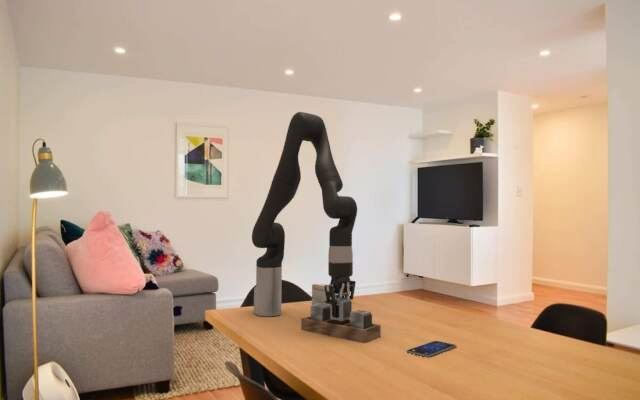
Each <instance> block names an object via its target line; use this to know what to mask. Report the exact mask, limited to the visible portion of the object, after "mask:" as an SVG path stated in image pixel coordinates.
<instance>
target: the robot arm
mask: <svg viewBox="0 0 640 400" xmlns="http://www.w3.org/2000/svg"><path fill="white" fill-rule="evenodd" d="M303 141H305V142H310V143H311V145H313V148H314V150H315V153H316V155H315V156H316V158H315V164H314V173H315V177H316V179H317V181H318V184H319V186H320V189H321V197H322V205H323V206H322V207H323V210H324V213H325V214H326V216H327V217H329V218H330V219H333V220H337V219H339V220H338V223H337V225H336V226H333V227H331V228H330V229H329V232H328V233H329V234H328V235H329V240H328V242H329V243H328V245H329V246H328V247H329V248H328V260H327V261H328V268H327V269H328V276H329V277H330V278H331V279H330V283H329V284H326V285H325V286H324V288H325V294H326V299H327V303H328V304H331V305H332V317H334V318H338V317H339V301H340V298H347V299H351V301H352V300H354V295H355V288H356V280H351V278H350V277H352V276H353V273H354V272H353V270H354V268H353V265H354V263H353V261H354V260H353V259H354V256H353V255H354V254H353V253H354V252H353V230H354V227H355V223H356V220H357V215H358V205H357V202H356V200H355V199H354V198H353V197H351V196H343V195H339V194H338V193H339V192H340V191H342V189H343V187H344V184H343V180H342V178H341V175H340V174H339V171H338V169H337V167H336V166H337V165H336V164H335V161H334V157H333V153H332V150H331V146H330V145H331V144H330V140H329V136H328V132H327V127H326V124H325V122H324V119H323V118H322V117H320V116H319V115H316V114H312V113H308V112H305V111H298V112H297V111H296V113H294V115H293V116H292V117H291V119H290V121H289V125H288V128H287V132H286V136H285V140H284V143H283V144H284V145H283V148H282V151H281V155H280V158H279V161H278V165H277V167H276V170H275V172H274V175H273V177H272V180H271V184H270V187H269V191H268V192H267V196H266V198H265V201H264V204H263V206H262V209H261V211H260V213H259V215H258V217H257V219H256V221H255V224H254V226H253V228H252V232H251V242H252V244H253V246H254V247H255V248H258V249H266V251H265V253H264V254H263V255H261V256H259V257H258V258H257V259H256V262H255V263H256V265H255V267H256V269H255V270H256V271H255V273H256V274H255V275H256V278H255V281H256V282H255V287H253V314H255V315H257V316H260V317H276V316H280V315H281V314H282V289H283V288H282V287H283V286H282V284H283V283H282V279H283V277H282V276H283V275H282V273H283V272H282V271H283V269H282V267H283V260H284V257H285V243H286V241H285V240H286V233H285V229H284V226H283V225H282V224H281V223H280V222H275V221H276V219H277V217H278V215H280V213H281V212H282V211H283V210H284V209H285V208H286V206H288V205H289V204H290V203H291V201H292V200H293V199H294V197H295V196H296V193H297V191H298V189H299V186H300V183H301V179H302V177H301V174H302V173H301V167H300V164H299V154H300V150H301V146H302V143H303ZM334 293H335V294H337V295H335V294H334ZM330 297H331V300H330ZM335 297H337V299H336V300H335Z"/></svg>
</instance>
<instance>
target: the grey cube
mask: <svg viewBox="0 0 640 400" xmlns="http://www.w3.org/2000/svg"><path fill="white" fill-rule="evenodd" d="M336 299H337V298H335V300H336ZM352 302H353V301H352V300H351V299H347V298H340V301H339V317H338V318H334V317H332V305H331V304H330V319H334V320H339V321H344V320H347V319H350V312H352V311H353V310H352V309H353V308H352V305H353V303H352Z"/></svg>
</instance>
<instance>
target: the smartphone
mask: <svg viewBox="0 0 640 400" xmlns="http://www.w3.org/2000/svg"><path fill="white" fill-rule="evenodd" d="M454 348H455V349H457V345H456V344H453V343H447V342H444V341H438V340H433V341H430V342H427V343H424V344H420V345H418V346H415V347H413V348H410V349H406V351H405V352H407V354H409V353H411V354H410V355H413V354H417V355H418V357H420V356H422V357H421V358H424V357H431V358H433V357H435V355H436V356H438V355H441V354H443V352H444V353H446V352H449V351H452V350H455V349H454ZM451 349H452V350H451ZM440 353H441V354H440ZM432 356H433V357H432Z"/></svg>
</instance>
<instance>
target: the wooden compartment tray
mask: <svg viewBox="0 0 640 400" xmlns="http://www.w3.org/2000/svg"><path fill="white" fill-rule="evenodd" d="M300 321H301V327H300V330H301V331H305V332H311V333H315V334H321V335H324V336H328V337H329V336H330V337H334V338H338V339H339V338H340V339H343V340H349V341H354V342H360V343H363V344H365V343H368V342H370V341H373V340H375V339H378V338H380V337H381V336H382V335H381V333H382V332H381V329H382V327H381V324H379V323H373V314H372V311H369V310H361V309H355V310H352V312H350V319H347V320H344V321H339V320H334V319H330V305H325V304H316V305H312V304H311V305H310V315H309V316H306V317H303V318H302V317H301V320H300Z"/></svg>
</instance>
